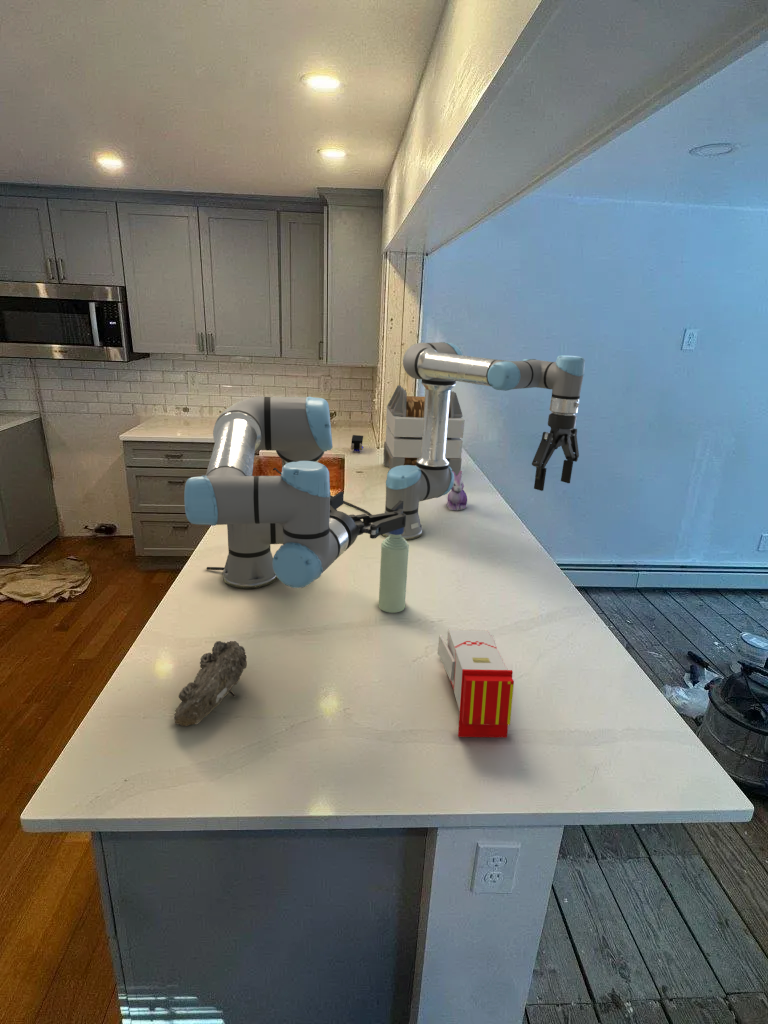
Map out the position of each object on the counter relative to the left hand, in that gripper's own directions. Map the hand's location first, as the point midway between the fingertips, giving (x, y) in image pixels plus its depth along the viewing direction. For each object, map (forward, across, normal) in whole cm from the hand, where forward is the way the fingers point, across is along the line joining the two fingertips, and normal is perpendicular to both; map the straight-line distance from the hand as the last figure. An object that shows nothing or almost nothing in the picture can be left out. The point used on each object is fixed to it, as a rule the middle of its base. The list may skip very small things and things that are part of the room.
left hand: (371, 502), depth 121 cm
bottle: (+20, 0, -36) cm, 41 cm away
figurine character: (+176, -72, -35) cm, 193 cm away
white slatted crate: (+149, -28, -35) cm, 156 cm away
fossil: (-28, -22, -36) cm, 50 cm away
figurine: (+107, -1, -35) cm, 113 cm away
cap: (+20, 0, -12) cm, 23 cm away
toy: (-8, +26, -36) cm, 45 cm away
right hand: (+58, +35, -8) cm, 68 cm away
